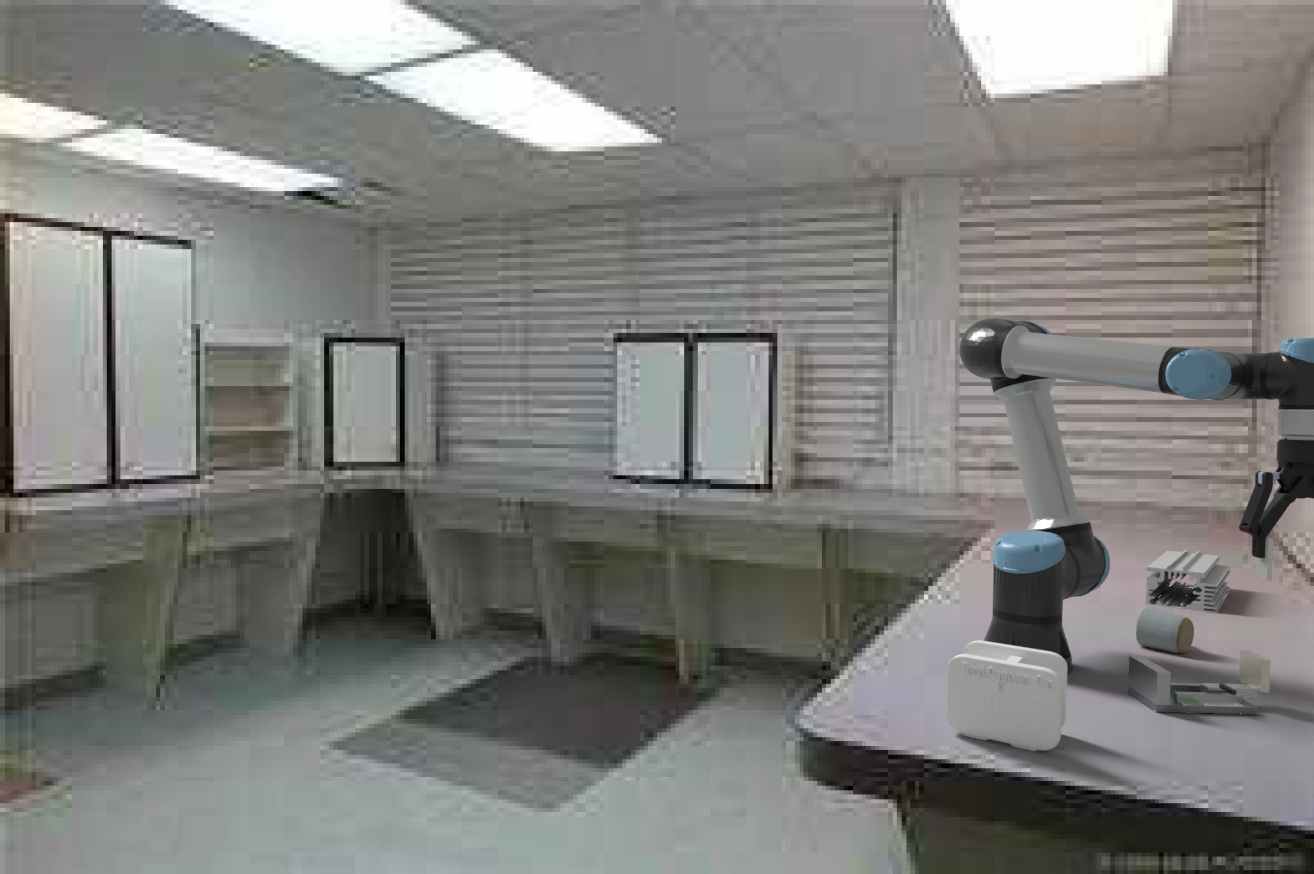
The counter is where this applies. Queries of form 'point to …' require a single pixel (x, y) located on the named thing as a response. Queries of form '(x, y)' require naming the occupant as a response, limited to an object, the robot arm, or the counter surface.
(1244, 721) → the counter surface
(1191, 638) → the grey tan cylinder
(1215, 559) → the aluminum extrusion profile
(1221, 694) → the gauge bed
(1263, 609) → the counter surface
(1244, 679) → the sliding gauge carriage
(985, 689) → the cable organizer
